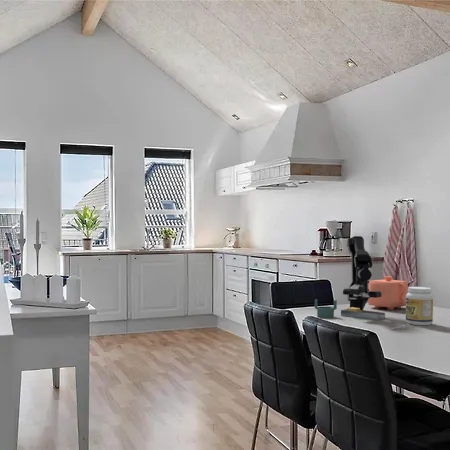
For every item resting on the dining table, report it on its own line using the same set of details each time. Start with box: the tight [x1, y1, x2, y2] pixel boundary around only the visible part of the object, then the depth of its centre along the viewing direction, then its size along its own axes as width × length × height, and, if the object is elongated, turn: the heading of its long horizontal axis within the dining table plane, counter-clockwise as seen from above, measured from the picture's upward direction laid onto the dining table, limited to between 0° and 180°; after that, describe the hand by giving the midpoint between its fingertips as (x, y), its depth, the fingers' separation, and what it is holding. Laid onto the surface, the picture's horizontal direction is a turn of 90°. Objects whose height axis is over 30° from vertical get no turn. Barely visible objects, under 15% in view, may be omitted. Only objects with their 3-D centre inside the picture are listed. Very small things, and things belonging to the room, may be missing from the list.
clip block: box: [347, 307, 361, 312], centre depth 301 cm, size 4×4×5 cm
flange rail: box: [340, 308, 386, 321], centre depth 298 cm, size 9×20×3 cm, turn 47°
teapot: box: [367, 275, 409, 311], centre depth 338 cm, size 25×23×18 cm
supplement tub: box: [405, 286, 434, 326], centre depth 283 cm, size 12×12×17 cm
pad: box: [350, 317, 375, 323], centre depth 287 cm, size 9×9×1 cm
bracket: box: [314, 299, 338, 319], centre depth 297 cm, size 9×9×9 cm
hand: (361, 310), depth 298 cm, fingers closed
